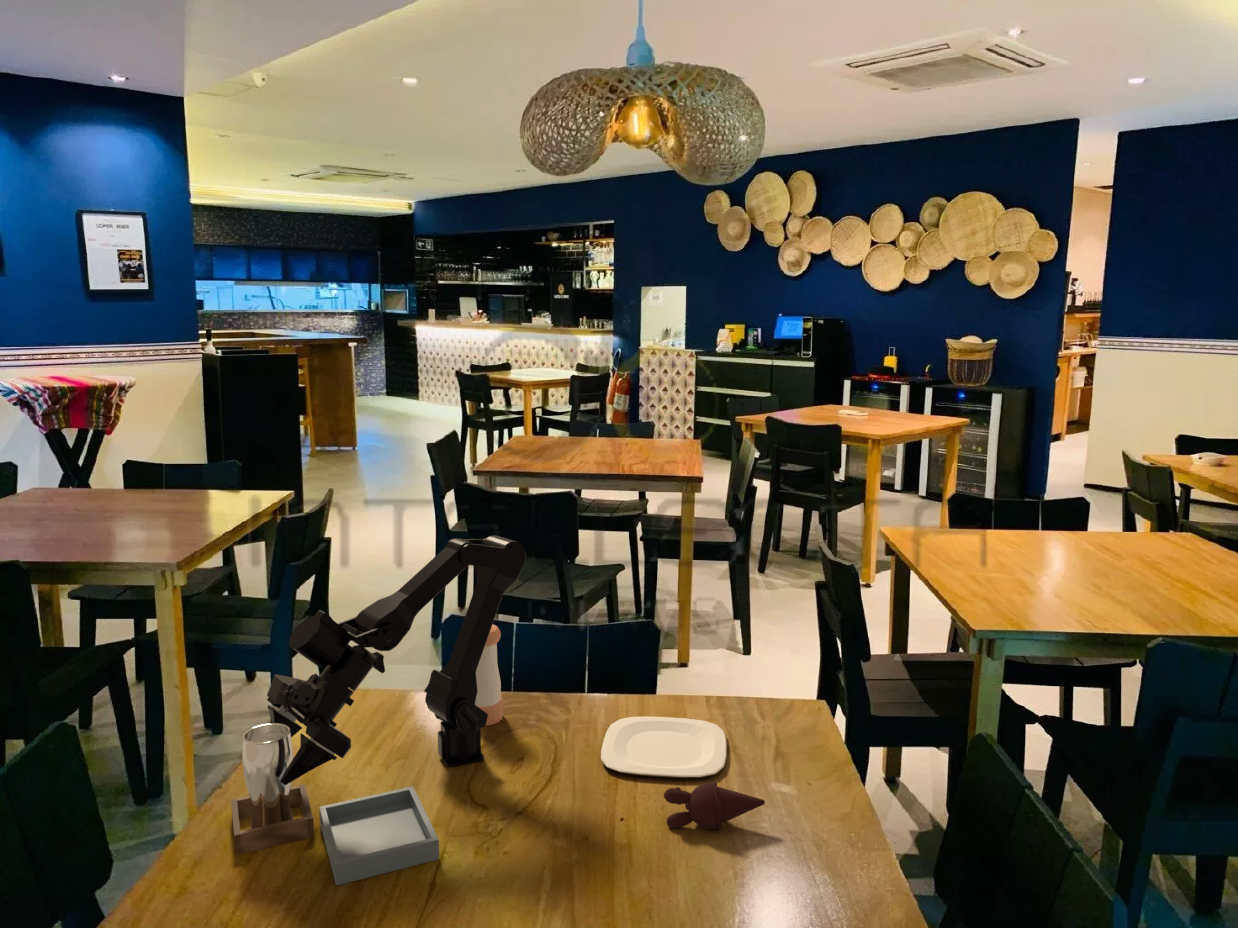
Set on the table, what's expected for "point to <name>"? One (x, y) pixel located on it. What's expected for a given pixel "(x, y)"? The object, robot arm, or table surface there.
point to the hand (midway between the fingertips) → (270, 771)
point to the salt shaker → (490, 680)
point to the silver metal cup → (267, 772)
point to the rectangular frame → (273, 832)
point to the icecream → (709, 805)
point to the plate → (664, 747)
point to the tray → (377, 835)
